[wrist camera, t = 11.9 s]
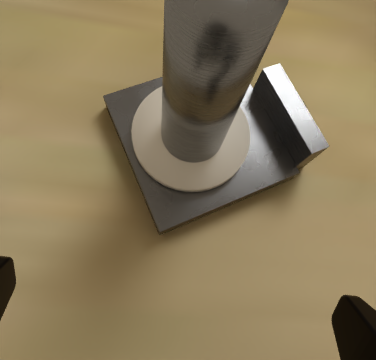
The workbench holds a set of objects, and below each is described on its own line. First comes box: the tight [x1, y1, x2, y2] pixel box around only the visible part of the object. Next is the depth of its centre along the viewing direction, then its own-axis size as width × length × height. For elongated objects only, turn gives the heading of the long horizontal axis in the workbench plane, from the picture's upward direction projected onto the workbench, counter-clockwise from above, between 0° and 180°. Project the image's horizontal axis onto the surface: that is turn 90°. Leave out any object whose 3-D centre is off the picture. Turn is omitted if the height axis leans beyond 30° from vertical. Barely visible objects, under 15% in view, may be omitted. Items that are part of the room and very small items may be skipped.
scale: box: [103, 63, 329, 235], centre depth 23 cm, size 11×13×4 cm
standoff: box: [161, 0, 288, 163], centre depth 17 cm, size 4×4×12 cm
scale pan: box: [131, 86, 250, 192], centre depth 23 cm, size 8×8×1 cm
